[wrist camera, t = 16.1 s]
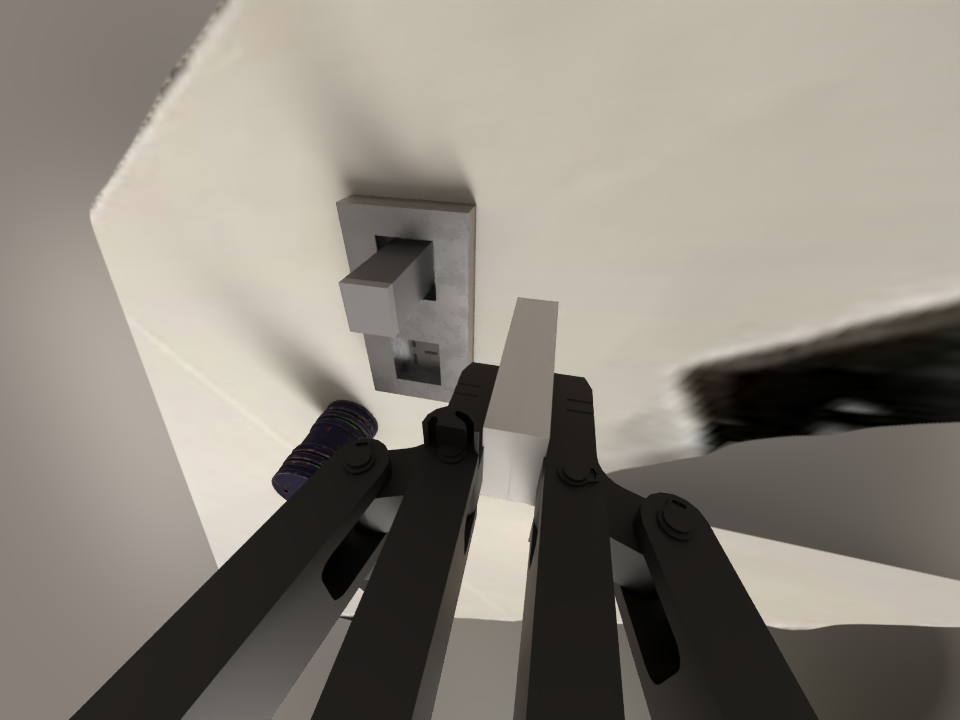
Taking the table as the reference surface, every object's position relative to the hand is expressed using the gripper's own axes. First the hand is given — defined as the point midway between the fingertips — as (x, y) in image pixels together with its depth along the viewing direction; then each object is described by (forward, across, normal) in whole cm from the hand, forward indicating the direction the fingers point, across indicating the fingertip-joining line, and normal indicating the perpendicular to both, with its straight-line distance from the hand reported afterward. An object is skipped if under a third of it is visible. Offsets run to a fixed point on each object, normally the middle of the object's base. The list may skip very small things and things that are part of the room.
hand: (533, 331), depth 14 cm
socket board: (+26, -15, -15) cm, 34 cm away
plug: (+25, -15, -8) cm, 31 cm away
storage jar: (+27, -30, -40) cm, 57 cm away
